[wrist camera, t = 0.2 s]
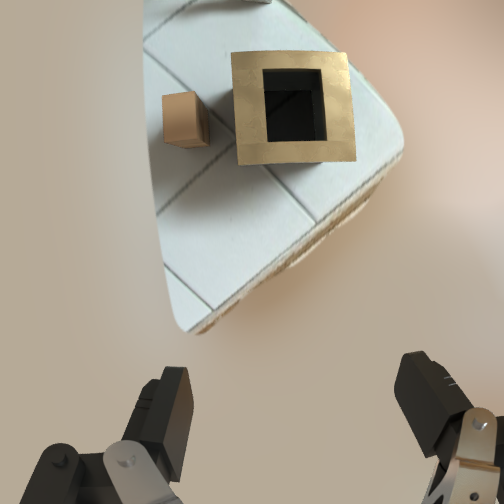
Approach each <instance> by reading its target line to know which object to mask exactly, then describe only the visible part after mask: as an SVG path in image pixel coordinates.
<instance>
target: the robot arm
mask: <svg viewBox="0 0 504 504" xmlns="http://www.w3.org/2000/svg"><path fill="white" fill-rule="evenodd" d="M394 393H395V397H396V400H397V401H398V403H399V406H400V407H401V409H402V411H403V413H404V415H405V417H406V419H407V421H408V423H409V425H410V427H411V429H412V431H413V433H414V435H415V437H416V439H417V441H418V443H419V445H420V447H421V449H422V452H423V454H424V456H425V458H428V457H431V456H434V455H437V457H438V458H439V459H438V461H437V462H436V464H435V467H434V471H433V474H432V477H431V480H430V483H429V485H428V488H427V491H426V494H425V496H424V499H423V501H422V503H421V504H495V501H496V497H497V499H498V502H499V504H504V416H499V417H495V415H494V414H493V413H492V412H491V411H489V410H487V409H485V408H480V407H475V408H474V406H473V405H472V404H471V402H470V401H469V399H468V398H467V397H466V395H465V394H464V393H463V391H462V390H461V389H460V387H459V386H458V385H457V384H456V382H455V381H454V380H453V378H451V376H450V374H449V373H448V372H447V370H446V369H445V368H444V367H443V366H441V365H440V364H438V363H437V362H435V361H431V360H430V359H429V357H428V356H427V355H426V353H425V352H424V351H417V352H411V353H406V354H404V355H403V357H402V359H401V363H400V367H399V371H398V374H397V377H396V381H395V385H394ZM193 409H194V401H193V394H192V390H191V384H190V379H189V374H188V370H187V368H186V367H170V366H167V367H165V369H164V371H163V374H162V376H161V379H160V380H158V379H152V380H151V381H149V382H148V383H147V384H146V385H145V386H144V387H143V388H142V391H141V393H140V396H139V400H138V401H137V403H136V405H135V409H134V410H133V413H132V415H131V418H130V420H129V423H128V425H127V427H126V430H125V432H124V435H123V437H122V439H121V441H118V442H116V443H113V444H112V445H110V446H109V447H108V448H107V449H106V451H105V452H103V453H91V454H78V452H77V451H76V450H75V448H73V447H72V446H70V445H68V444H63V443H58V444H53V445H51V446H49V447H47V448H46V449H45V450H44V451H43V453H42V455H41V457H40V459H39V461H38V463H37V465H36V467H35V470H34V472H33V474H32V476H31V478H30V480H29V483H28V485H27V487H26V490H25V492H24V494H23V497H22V499H21V501H20V504H183V503H182V501H181V500H180V499H179V498H178V497H177V496H176V495H175V494H174V492H173V491H172V489H171V488H170V487H169V483H170V481H172V482H180V477H181V471H182V466H183V461H184V456H185V451H186V446H187V441H188V435H189V431H190V426H191V420H192V416H193Z"/></svg>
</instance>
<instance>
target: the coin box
mask: <svg viewBox="0 0 504 504" xmlns="http://www.w3.org/2000/svg"><path fill="white" fill-rule="evenodd" d="M231 65H232V81H233V97H234V112H235V128H236V143H237V158H238V165H239V166H248V165H264V164H285V163H319V162H354V161H356V146H355V130H354V117H353V106H352V95H351V86H350V77H349V69H348V62H347V54H346V53H338V52H323V51H292V50H278V51H247V52H232V53H231ZM287 90H308V91H312V102H313V114H314V128H315V141H289V142H267V128H266V113H265V100H264V91H287Z"/></svg>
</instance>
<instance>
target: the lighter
mask: <svg viewBox="0 0 504 504" xmlns="http://www.w3.org/2000/svg"><path fill="white" fill-rule="evenodd" d="M243 1H253V2H262V3H272V0H243Z"/></svg>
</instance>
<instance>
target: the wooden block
mask: <svg viewBox="0 0 504 504" xmlns="http://www.w3.org/2000/svg"><path fill="white" fill-rule="evenodd" d="M162 109H163V130H164V143H168V144H171V145H175V146H178V147H182V148H185V149H186V148H195V147H204V146H210V138H209V122H208V110H207V108H206V107H205V106H204V104H203V103H202V101H201V100H200V98H199V97H198V96H197V94H196V93H195V91H190V92H183V93H176V94H169V95H163V96H162Z"/></svg>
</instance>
